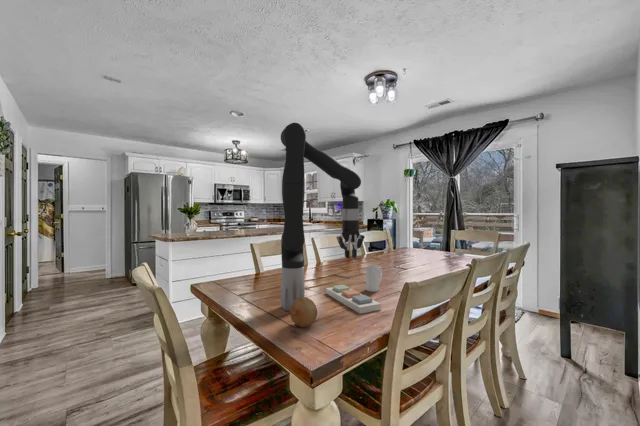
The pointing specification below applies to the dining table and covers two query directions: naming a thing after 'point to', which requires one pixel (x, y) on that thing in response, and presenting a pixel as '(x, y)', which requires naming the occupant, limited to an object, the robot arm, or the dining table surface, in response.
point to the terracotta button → (350, 293)
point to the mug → (373, 277)
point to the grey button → (362, 299)
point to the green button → (340, 288)
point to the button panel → (353, 305)
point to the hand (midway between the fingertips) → (350, 258)
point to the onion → (303, 312)
